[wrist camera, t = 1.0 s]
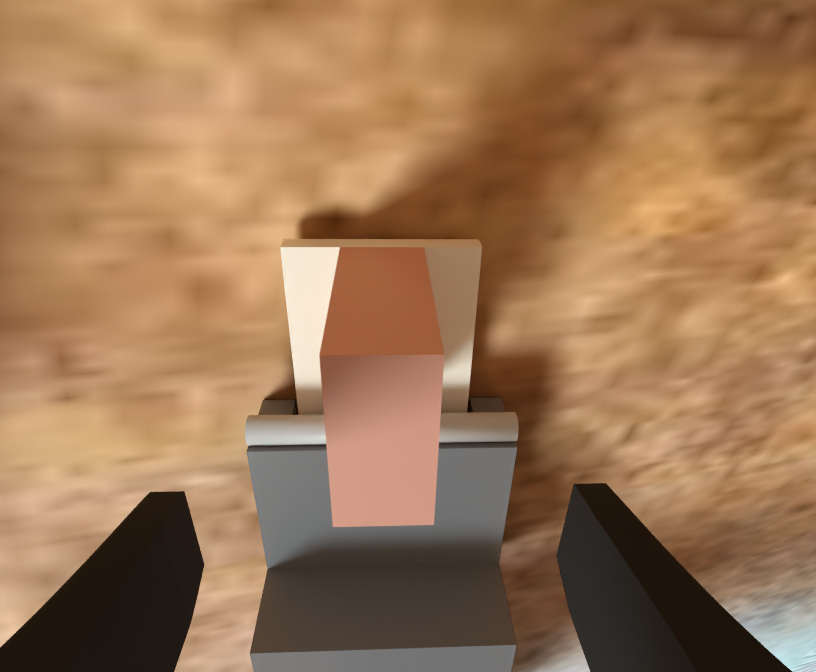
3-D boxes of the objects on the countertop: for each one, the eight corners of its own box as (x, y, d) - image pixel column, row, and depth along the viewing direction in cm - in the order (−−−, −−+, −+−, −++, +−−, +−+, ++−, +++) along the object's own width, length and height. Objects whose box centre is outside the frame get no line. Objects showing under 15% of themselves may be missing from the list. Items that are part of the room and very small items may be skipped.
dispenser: (480, 552, 25) (506, 691, 20) (286, 557, 24) (260, 699, 19) (503, 377, 20) (546, 502, 15) (260, 380, 19) (216, 508, 14)
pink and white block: (450, 562, 24) (471, 729, 19) (318, 566, 24) (298, 736, 18) (478, 239, 17) (530, 353, 11) (284, 239, 16) (230, 356, 11)
